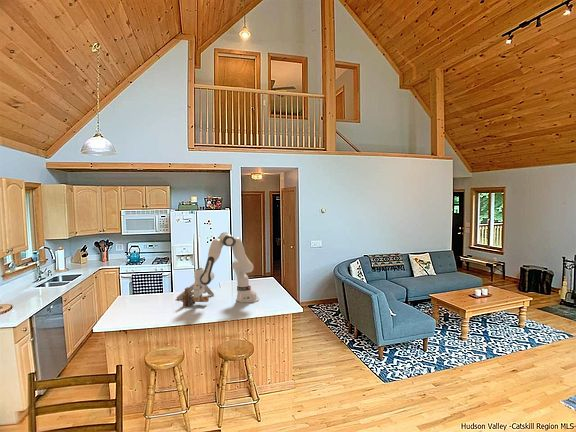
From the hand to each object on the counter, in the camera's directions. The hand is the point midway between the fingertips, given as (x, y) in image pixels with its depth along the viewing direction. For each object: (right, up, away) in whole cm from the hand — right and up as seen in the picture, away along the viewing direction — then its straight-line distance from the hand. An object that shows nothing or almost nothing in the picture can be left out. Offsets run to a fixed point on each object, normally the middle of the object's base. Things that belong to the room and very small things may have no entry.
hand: (199, 299), depth 314 cm
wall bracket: (-11, -4, +25) cm, 28 cm away
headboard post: (-10, -5, +1) cm, 12 cm away
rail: (0, -2, 0) cm, 2 cm away
